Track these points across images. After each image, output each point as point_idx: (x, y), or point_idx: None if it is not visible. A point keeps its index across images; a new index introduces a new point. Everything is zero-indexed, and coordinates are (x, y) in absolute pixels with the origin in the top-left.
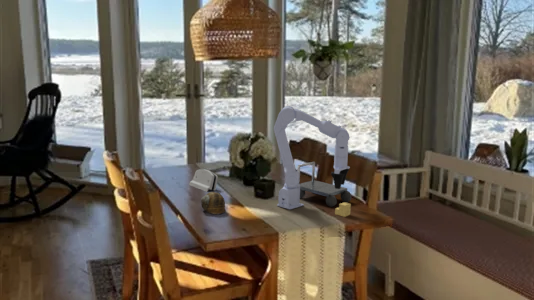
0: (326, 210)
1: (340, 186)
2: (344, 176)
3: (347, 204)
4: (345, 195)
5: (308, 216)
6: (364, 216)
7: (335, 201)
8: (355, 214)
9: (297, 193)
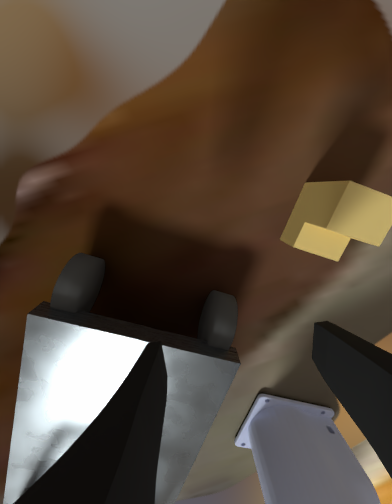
0: (281, 301)
1: (347, 332)
2: (137, 430)
3: (375, 195)
4: (88, 290)
5: (388, 330)
6: (304, 96)
7: (228, 299)
8: (288, 157)
9: (327, 472)
